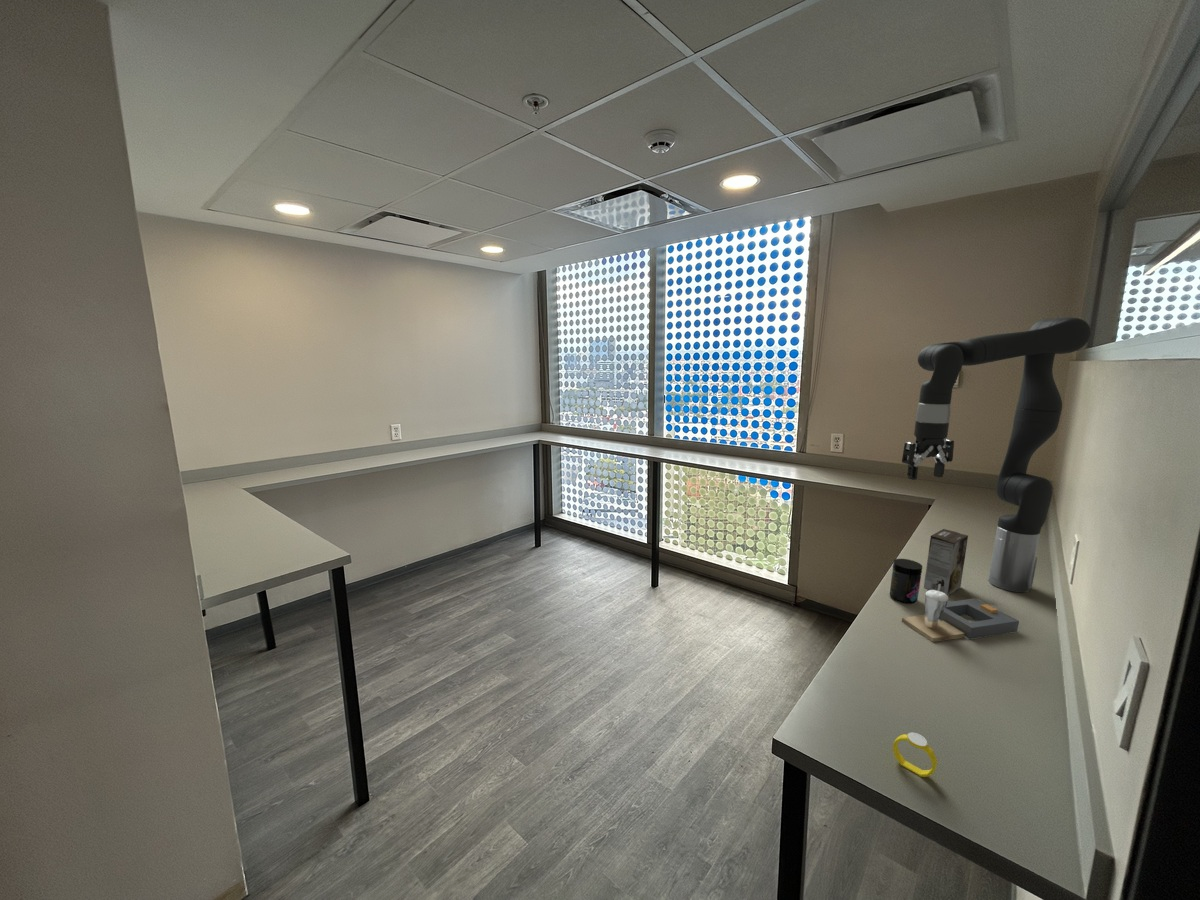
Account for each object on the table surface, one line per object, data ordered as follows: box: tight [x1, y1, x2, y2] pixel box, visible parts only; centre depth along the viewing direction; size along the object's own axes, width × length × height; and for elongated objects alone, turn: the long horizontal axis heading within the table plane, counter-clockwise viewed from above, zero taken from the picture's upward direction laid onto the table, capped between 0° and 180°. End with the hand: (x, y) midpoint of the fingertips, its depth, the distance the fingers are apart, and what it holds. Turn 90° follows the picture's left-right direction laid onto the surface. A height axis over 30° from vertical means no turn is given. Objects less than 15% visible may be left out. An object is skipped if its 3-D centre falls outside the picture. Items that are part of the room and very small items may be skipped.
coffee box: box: [923, 528, 969, 597], centre depth 137 cm, size 9×6×16 cm
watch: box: [892, 731, 938, 778], centre depth 78 cm, size 6×3×6 cm, turn 40°
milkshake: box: [924, 584, 949, 630], centre depth 117 cm, size 4×5×10 cm
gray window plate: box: [942, 598, 1020, 640], centre depth 120 cm, size 14×11×4 cm
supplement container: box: [889, 558, 923, 605], centre depth 132 cm, size 7×7×10 cm
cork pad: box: [901, 614, 965, 643], centre depth 118 cm, size 9×9×1 cm
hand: (925, 477), depth 133 cm, fingers open, 8 cm apart
